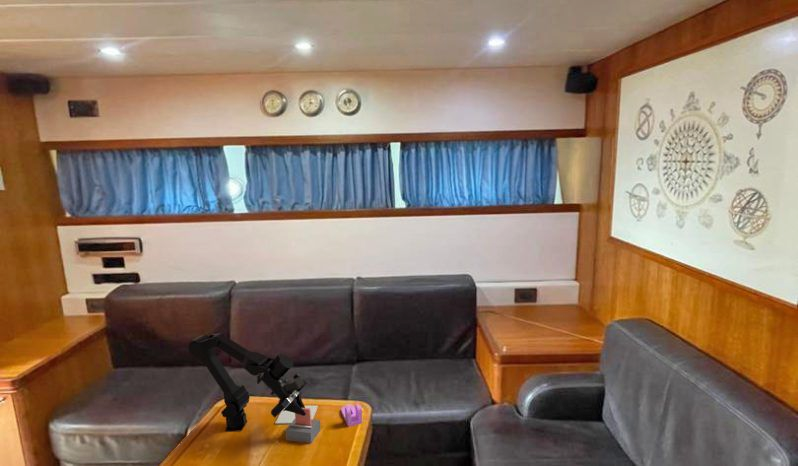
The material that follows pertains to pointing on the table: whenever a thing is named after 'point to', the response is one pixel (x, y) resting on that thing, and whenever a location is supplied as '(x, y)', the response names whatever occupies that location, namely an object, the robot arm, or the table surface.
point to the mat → (292, 415)
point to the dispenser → (303, 431)
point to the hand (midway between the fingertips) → (305, 414)
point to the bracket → (356, 414)
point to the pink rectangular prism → (304, 418)
